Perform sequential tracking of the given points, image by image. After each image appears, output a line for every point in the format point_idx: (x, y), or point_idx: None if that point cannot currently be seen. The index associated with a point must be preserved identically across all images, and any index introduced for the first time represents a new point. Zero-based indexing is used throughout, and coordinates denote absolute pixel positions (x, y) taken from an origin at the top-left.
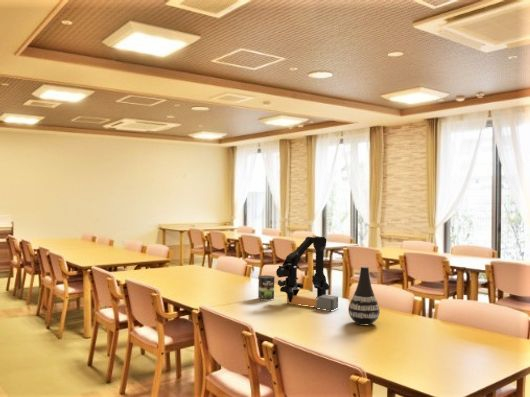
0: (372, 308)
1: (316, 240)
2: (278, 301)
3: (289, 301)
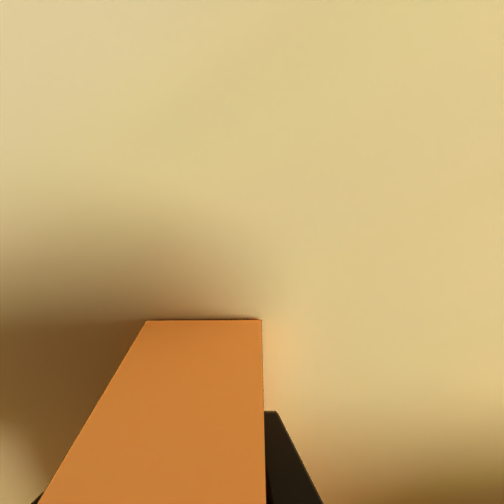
0: None
1: None
2: (211, 3)
3: None
